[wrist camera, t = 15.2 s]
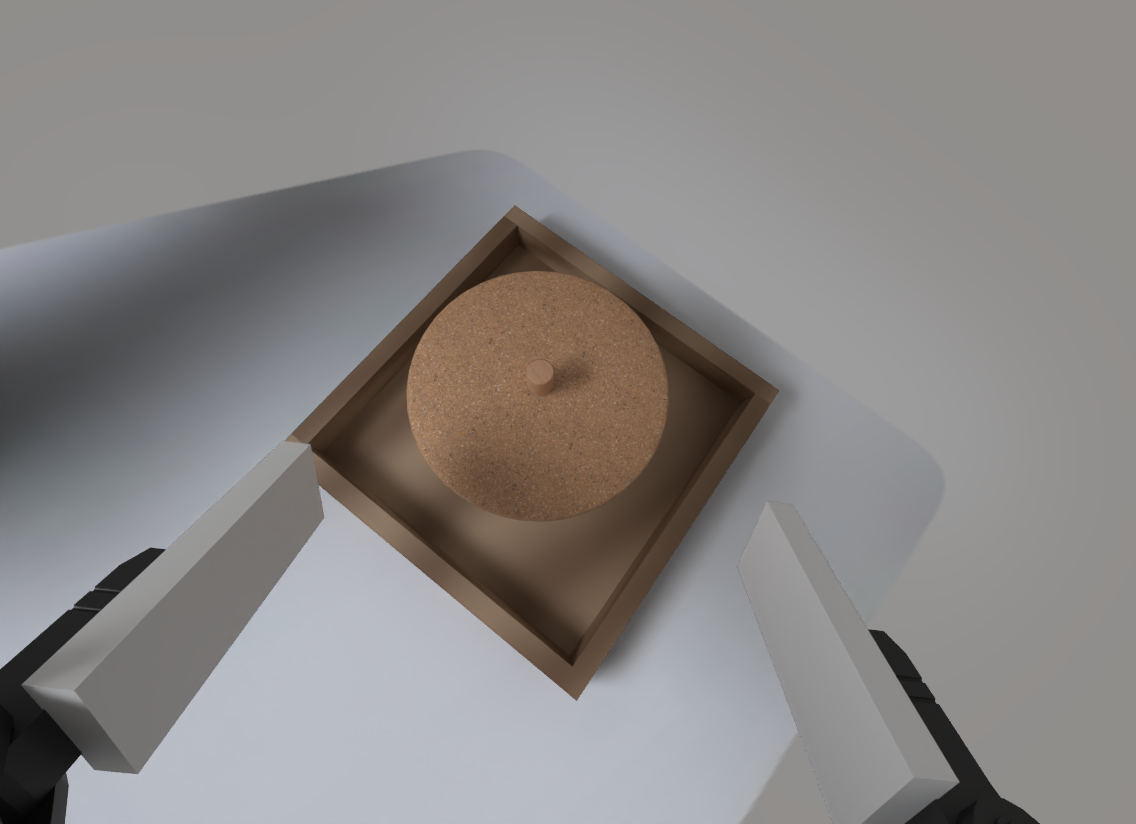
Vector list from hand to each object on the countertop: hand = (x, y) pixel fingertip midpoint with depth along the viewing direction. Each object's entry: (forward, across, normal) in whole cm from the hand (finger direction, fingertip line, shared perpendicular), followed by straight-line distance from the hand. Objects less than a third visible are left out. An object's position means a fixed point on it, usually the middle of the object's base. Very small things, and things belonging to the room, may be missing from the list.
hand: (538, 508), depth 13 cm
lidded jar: (+12, 0, -5) cm, 13 cm away
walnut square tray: (+12, 0, -5) cm, 13 cm away
